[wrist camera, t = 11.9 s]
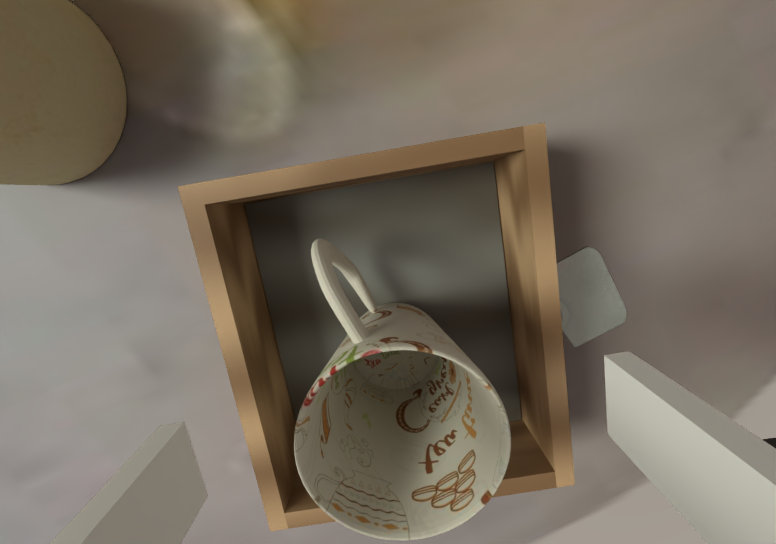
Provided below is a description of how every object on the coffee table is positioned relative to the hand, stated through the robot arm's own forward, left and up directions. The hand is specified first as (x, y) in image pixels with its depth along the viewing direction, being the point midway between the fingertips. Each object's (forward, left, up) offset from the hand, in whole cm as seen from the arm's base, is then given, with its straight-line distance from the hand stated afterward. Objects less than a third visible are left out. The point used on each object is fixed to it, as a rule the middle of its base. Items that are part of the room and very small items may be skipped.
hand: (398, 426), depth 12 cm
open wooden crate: (0, 0, -13) cm, 13 cm away
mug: (0, -1, -12) cm, 12 cm away
